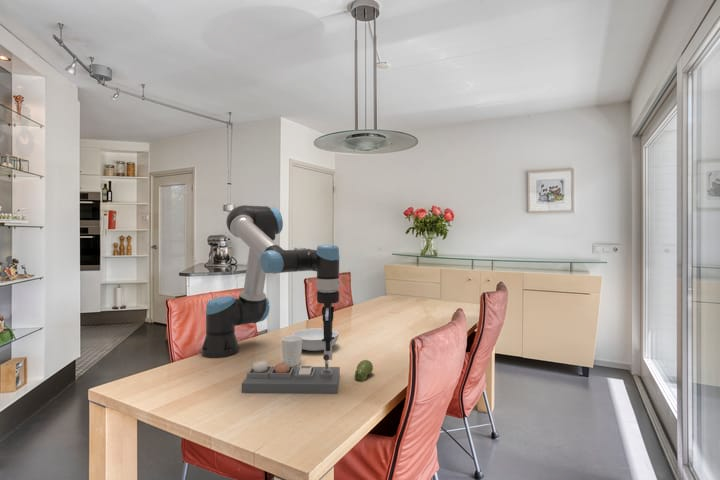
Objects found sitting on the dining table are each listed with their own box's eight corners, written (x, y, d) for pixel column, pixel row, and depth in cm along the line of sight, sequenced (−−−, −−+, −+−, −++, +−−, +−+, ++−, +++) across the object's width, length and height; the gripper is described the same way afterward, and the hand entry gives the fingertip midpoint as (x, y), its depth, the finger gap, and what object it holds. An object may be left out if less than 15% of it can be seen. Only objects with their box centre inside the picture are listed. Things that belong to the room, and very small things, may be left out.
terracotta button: (276, 370, 135) (276, 363, 135) (290, 370, 135) (290, 363, 135) (273, 376, 130) (273, 368, 130) (288, 376, 130) (288, 368, 130)
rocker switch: (300, 368, 135) (300, 365, 135) (311, 368, 135) (311, 365, 135) (298, 376, 130) (298, 373, 130) (310, 376, 130) (310, 374, 130)
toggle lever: (323, 368, 134) (322, 353, 129) (330, 368, 134) (329, 353, 129) (323, 373, 132) (322, 358, 127) (330, 373, 132) (329, 358, 127)
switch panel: (254, 374, 141) (254, 361, 140) (339, 375, 141) (339, 362, 141) (241, 392, 125) (241, 378, 124) (337, 393, 125) (337, 379, 125)
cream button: (255, 367, 135) (255, 360, 135) (269, 367, 135) (269, 360, 135) (251, 372, 130) (251, 365, 130) (265, 373, 130) (265, 365, 130)
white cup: (297, 367, 148) (298, 341, 148) (278, 365, 150) (278, 340, 149) (304, 360, 156) (304, 336, 156) (286, 359, 157) (286, 335, 157)
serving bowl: (341, 342, 182) (341, 328, 182) (334, 357, 161) (334, 340, 161) (298, 340, 184) (298, 326, 184) (285, 354, 163) (285, 338, 163)
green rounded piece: (374, 358, 143) (365, 372, 134) (375, 371, 144) (365, 386, 134) (361, 356, 145) (350, 369, 136) (361, 369, 146) (351, 383, 137)
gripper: (338, 293, 124) (338, 366, 125) (339, 287, 137) (339, 352, 137) (314, 293, 124) (315, 366, 125) (318, 287, 136) (318, 353, 137)
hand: (328, 359), depth 131 cm, fingers closed
